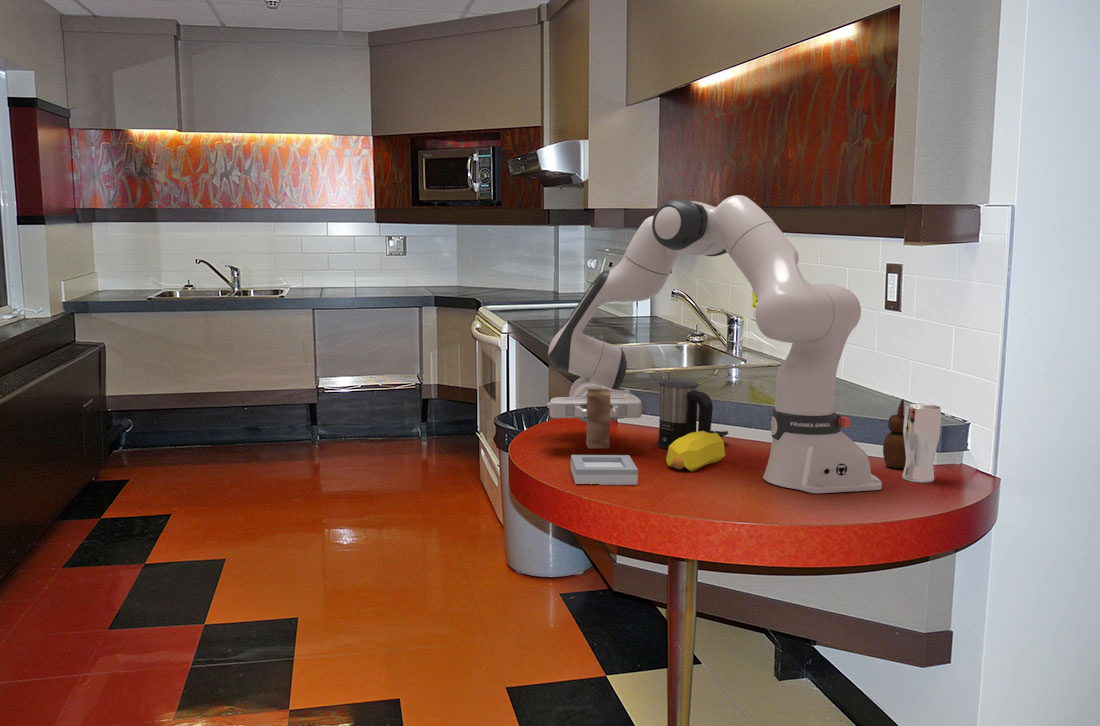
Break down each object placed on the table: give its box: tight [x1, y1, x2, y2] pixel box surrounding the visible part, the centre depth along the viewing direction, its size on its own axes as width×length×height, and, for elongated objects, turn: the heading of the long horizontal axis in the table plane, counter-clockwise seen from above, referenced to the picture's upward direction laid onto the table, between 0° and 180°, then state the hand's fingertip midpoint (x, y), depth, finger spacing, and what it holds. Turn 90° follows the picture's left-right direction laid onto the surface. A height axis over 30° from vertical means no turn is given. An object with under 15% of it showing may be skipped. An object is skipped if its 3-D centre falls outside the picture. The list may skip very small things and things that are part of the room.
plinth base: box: [570, 454, 639, 486], centre depth 183 cm, size 12×12×3 cm
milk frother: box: [657, 380, 729, 449], centre depth 212 cm, size 14×16×15 cm
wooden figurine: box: [882, 398, 905, 469], centre depth 195 cm, size 7×6×15 cm
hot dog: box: [665, 431, 726, 472], centre depth 195 cm, size 18×7×8 cm
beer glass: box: [901, 402, 942, 484], centre depth 185 cm, size 7×7×15 cm
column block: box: [585, 389, 611, 449], centre depth 195 cm, size 5×5×12 cm
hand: (598, 414), depth 194 cm, fingers closed on column block, 4 cm apart
